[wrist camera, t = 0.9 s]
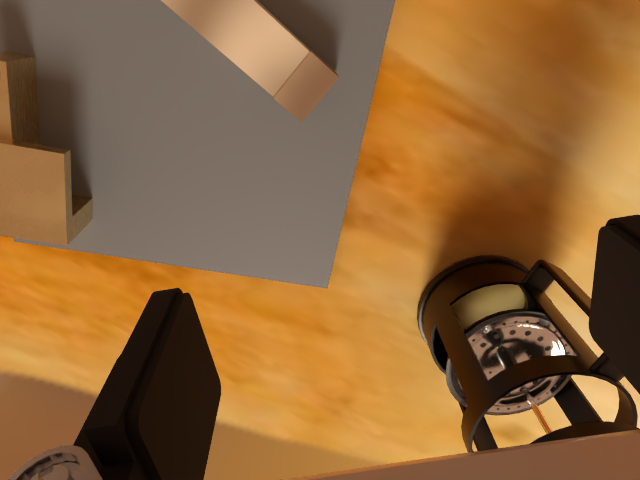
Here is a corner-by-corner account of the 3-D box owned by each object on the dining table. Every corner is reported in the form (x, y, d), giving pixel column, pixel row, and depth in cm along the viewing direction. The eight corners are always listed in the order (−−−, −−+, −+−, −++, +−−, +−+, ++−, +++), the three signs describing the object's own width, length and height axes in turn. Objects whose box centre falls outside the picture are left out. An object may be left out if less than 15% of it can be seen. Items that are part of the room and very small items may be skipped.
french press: (486, 379, 40) (688, 788, 19) (389, 339, 37) (495, 749, 17) (582, 267, 35) (979, 641, 15) (477, 214, 33) (769, 563, 12)
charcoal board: (-16, -253, 22) (-30, -264, 21) (424, -139, 24) (429, -145, 23) (22, 234, 33) (14, 241, 32) (326, 281, 35) (327, 288, 34)
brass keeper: (7, 51, 27) (-36, 57, 23) (91, 67, 27) (61, 76, 24) (19, 207, 31) (-16, 233, 27) (92, 219, 31) (67, 245, 28)
